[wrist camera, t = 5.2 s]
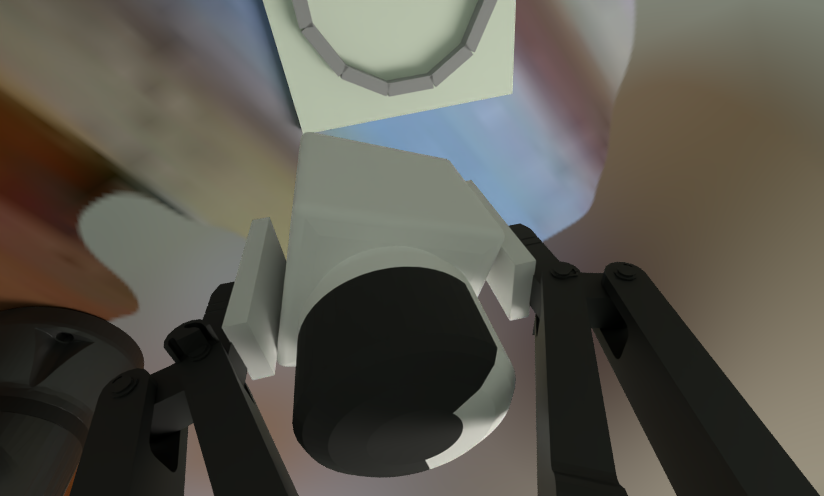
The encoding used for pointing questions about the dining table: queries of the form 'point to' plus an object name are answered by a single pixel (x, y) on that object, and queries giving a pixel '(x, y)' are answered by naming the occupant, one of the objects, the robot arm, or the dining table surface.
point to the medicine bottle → (389, 310)
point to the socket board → (390, 56)
